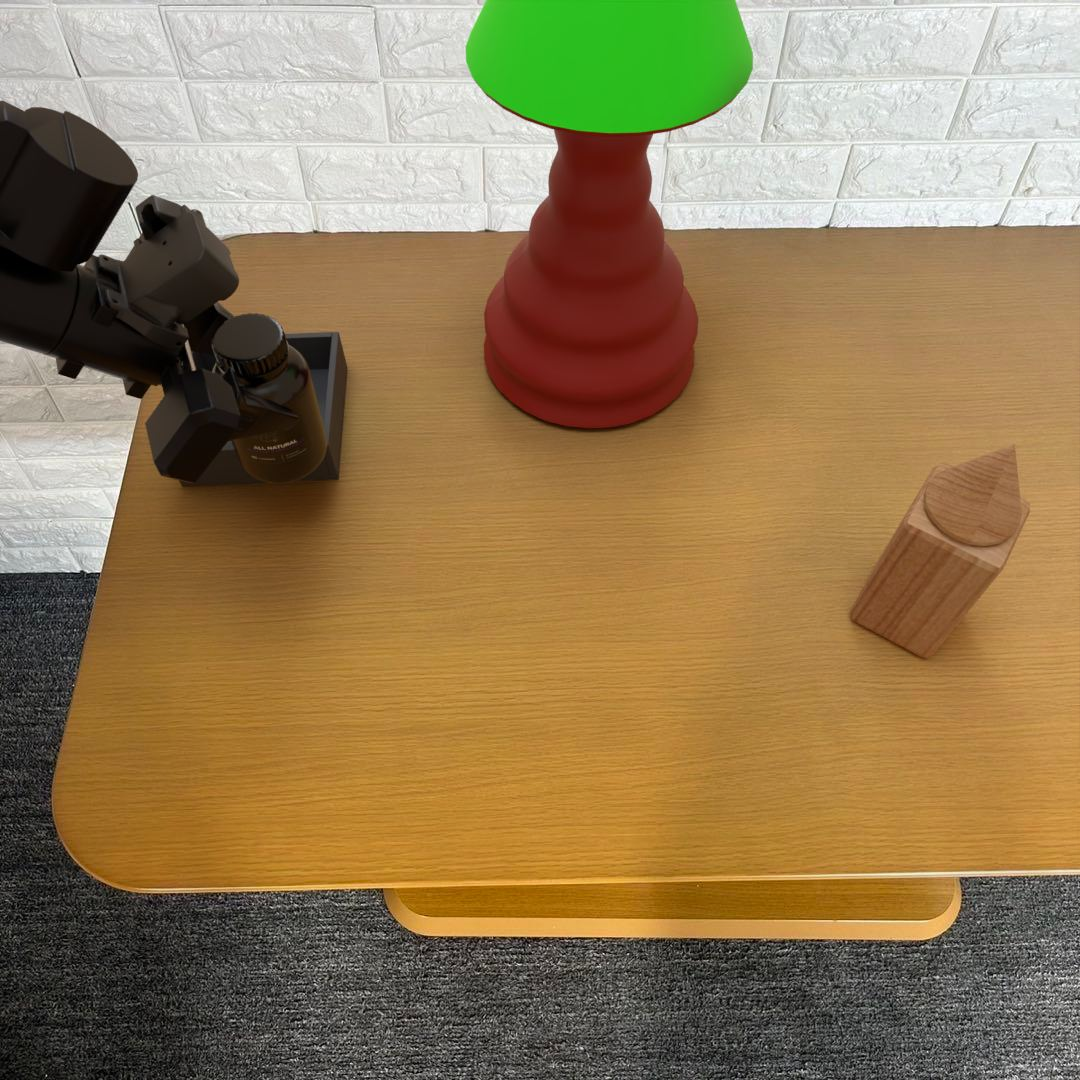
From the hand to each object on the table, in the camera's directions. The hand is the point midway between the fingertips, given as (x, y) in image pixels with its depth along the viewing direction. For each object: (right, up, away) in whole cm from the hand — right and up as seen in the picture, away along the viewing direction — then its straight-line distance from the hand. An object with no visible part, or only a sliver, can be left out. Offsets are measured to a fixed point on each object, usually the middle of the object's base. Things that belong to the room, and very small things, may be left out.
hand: (283, 388), depth 64 cm
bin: (-6, -1, +16) cm, 17 cm away
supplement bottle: (-1, -4, +5) cm, 7 cm away
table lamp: (+23, +7, +21) cm, 32 cm away
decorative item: (+47, -16, +5) cm, 50 cm away
